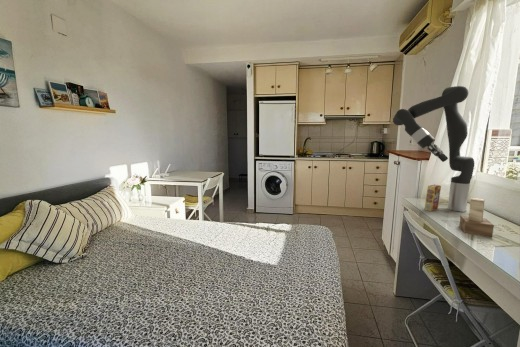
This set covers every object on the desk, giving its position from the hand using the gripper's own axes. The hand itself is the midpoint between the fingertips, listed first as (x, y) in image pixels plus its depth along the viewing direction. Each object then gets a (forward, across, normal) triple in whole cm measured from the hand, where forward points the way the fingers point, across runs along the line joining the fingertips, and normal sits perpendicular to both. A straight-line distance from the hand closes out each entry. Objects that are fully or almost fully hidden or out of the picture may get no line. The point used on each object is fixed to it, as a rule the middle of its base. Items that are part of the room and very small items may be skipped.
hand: (445, 160), depth 132 cm
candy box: (+20, +20, +27) cm, 39 cm away
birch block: (+29, -10, +9) cm, 32 cm away
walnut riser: (+34, -10, +13) cm, 38 cm away
